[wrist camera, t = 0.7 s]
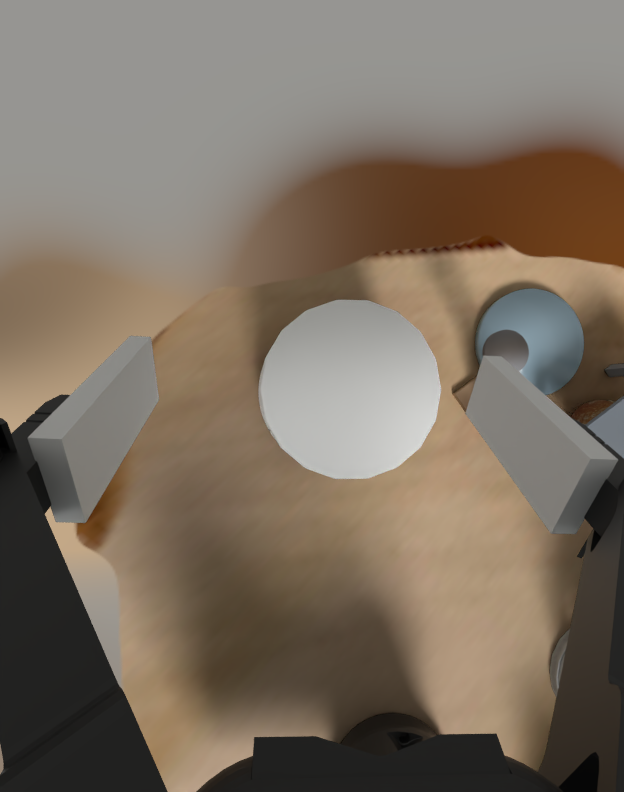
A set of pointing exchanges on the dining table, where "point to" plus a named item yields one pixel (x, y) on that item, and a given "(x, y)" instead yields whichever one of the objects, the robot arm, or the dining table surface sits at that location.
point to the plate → (538, 335)
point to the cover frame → (611, 418)
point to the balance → (504, 346)
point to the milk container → (350, 389)
